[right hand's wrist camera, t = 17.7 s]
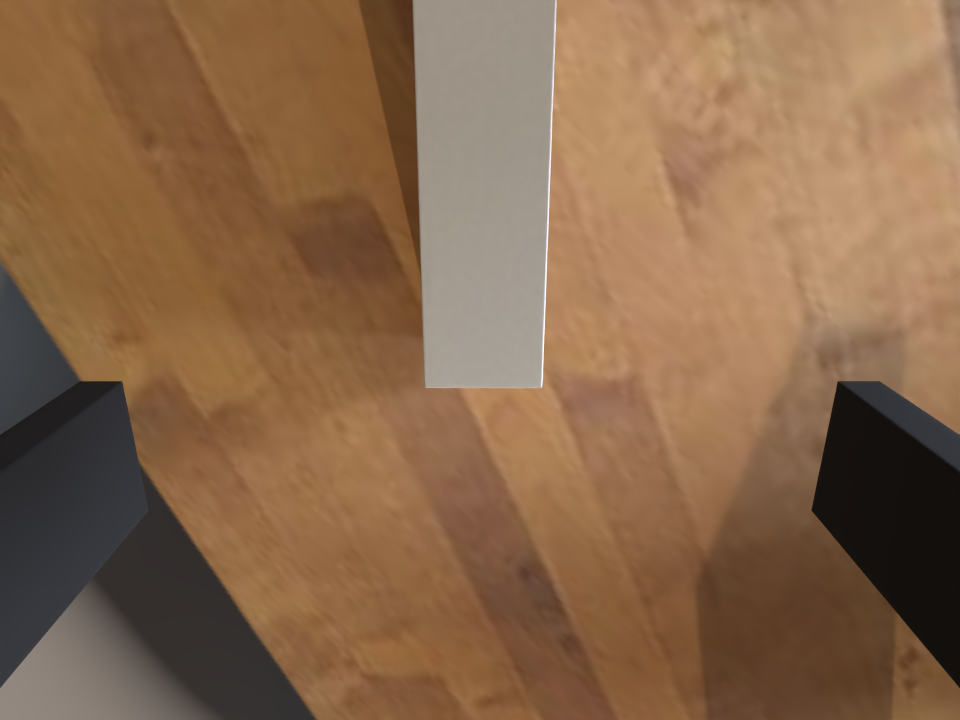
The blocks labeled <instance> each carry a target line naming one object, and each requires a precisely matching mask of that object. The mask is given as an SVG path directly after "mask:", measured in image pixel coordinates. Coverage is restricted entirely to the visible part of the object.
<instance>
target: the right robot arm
mask: <svg viewBox="0 0 960 720" xmlns="http://www.w3.org/2000/svg"><path fill="white" fill-rule="evenodd" d="M147 512H148V506H147V501H146V496H145V491H144V486H143V481H142V476H141V472H140V467H139V462H138V457H137V452H136V447H135V442H134V437H133V432H132V427H131V423H130V418H129V413H128V408H127V403H126V398H125V393H124V388H123V383H122V381H80V382H79V383H77V384H76V385H74V386H73V387H71V388H70V389H68V390H67V391H65V392H64V393H62V394H61V395H59V396H58V397H56V398H55V399H53V400H52V401H51V402H49V403H47V404H46V405H45V406H43V407H41V408H40V409H39V410H37V411H36V412H34V413H33V414H31V415H30V416H28V417H27V418H25V419H24V420H22V421H21V422H19V423H18V424H16V425H15V426H13V427H12V428H10V429H9V430H7V431H6V432H4V433H3V434H1V435H0V687H1V686H2V685H3V684H4V683H5V681H6V680H7V679H8V678H9V677H10V676H11V674H12V673H13V672H14V671H15V669H16V668H17V667H18V666H19V665H20V664H21V662H22V661H23V660H24V659H25V658H26V656H27V655H28V654H29V653H30V652H31V650H32V649H33V648H34V647H35V646H36V644H37V643H38V642H39V641H40V640H41V638H42V637H43V636H44V635H45V634H46V632H47V631H48V630H49V629H50V628H51V626H52V625H53V624H54V623H55V622H56V620H57V619H58V618H59V617H60V616H61V614H62V613H63V612H64V611H65V610H66V608H67V607H68V606H69V605H70V604H71V602H72V601H73V600H74V599H75V598H76V596H77V595H78V594H79V593H80V592H81V591H82V589H83V588H84V587H85V586H86V584H87V583H88V582H89V581H90V580H91V579H92V577H93V576H94V575H95V574H96V573H97V571H98V570H99V569H100V568H101V567H102V565H103V564H104V563H105V562H106V561H107V559H108V558H109V557H110V556H111V555H112V553H113V552H114V551H115V550H116V549H117V547H118V546H119V545H120V544H121V543H122V541H123V540H124V539H125V538H126V537H127V535H128V534H129V533H130V532H131V531H132V529H133V528H134V527H135V526H136V525H137V523H138V522H139V521H140V520H141V519H142V517H143V516H144V515H145V514H146V513H147ZM812 512H813V513H814V514H815V515H816V516H817V517H818V519H819V520H820V521H821V522H822V523H823V525H824V526H825V527H826V528H827V529H828V531H829V532H830V533H831V534H832V535H833V537H834V538H835V539H836V540H837V541H838V543H839V544H840V545H841V546H842V547H843V549H844V550H845V551H846V552H847V553H848V555H849V556H850V557H851V558H852V559H853V561H854V562H855V563H856V564H857V565H858V567H859V568H860V569H861V570H862V571H863V573H864V574H865V575H866V576H867V577H868V579H869V580H870V581H871V582H872V583H873V585H874V586H875V587H876V588H877V589H878V591H879V592H880V593H881V594H882V595H883V597H884V598H885V599H886V600H887V601H888V602H889V604H890V605H891V606H892V607H893V608H894V610H895V611H896V612H897V613H898V614H899V616H900V617H901V618H902V619H903V620H904V622H905V623H906V624H907V625H908V626H909V628H910V629H911V630H912V631H913V632H914V634H915V635H916V636H917V637H918V638H919V640H920V641H921V642H922V643H923V644H924V646H925V647H926V648H927V649H928V650H929V652H930V653H931V654H932V655H933V656H934V658H935V659H936V660H937V661H938V662H939V664H940V665H941V666H942V667H943V668H944V670H945V671H946V672H947V673H948V674H949V676H950V677H951V678H952V679H953V680H954V682H955V683H956V684H957V685H958V686H959V688H960V435H959V434H957V433H956V432H954V431H953V430H951V429H950V428H948V427H947V426H945V425H944V424H942V423H941V422H939V421H938V420H936V419H935V418H933V417H932V416H930V415H929V414H927V413H926V412H924V411H923V410H921V409H920V408H919V407H917V406H916V405H914V404H913V403H911V402H910V401H908V400H907V399H905V398H904V397H902V396H901V395H899V394H898V393H896V392H895V391H893V390H892V389H890V388H889V387H887V386H886V385H884V384H883V383H881V382H880V381H838V383H837V388H836V393H835V398H834V403H833V408H832V413H831V418H830V423H829V427H828V432H827V437H826V442H825V447H824V452H823V457H822V462H821V467H820V472H819V476H818V481H817V486H816V491H815V496H814V501H813V506H812Z"/></svg>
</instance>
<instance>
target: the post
mask: <svg viewBox="0 0 960 720" xmlns="http://www.w3.org/2000/svg"><path fill="white" fill-rule="evenodd" d="M412 2H413V34H414V67H415V100H416V132H417V165H418V197H419V230H420V263H421V295H422V328H423V360H424V387H425V388H542V380H543V353H544V326H545V299H546V272H547V245H548V218H549V191H550V164H551V137H552V110H553V83H554V57H555V30H556V3H557V0H412Z"/></svg>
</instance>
